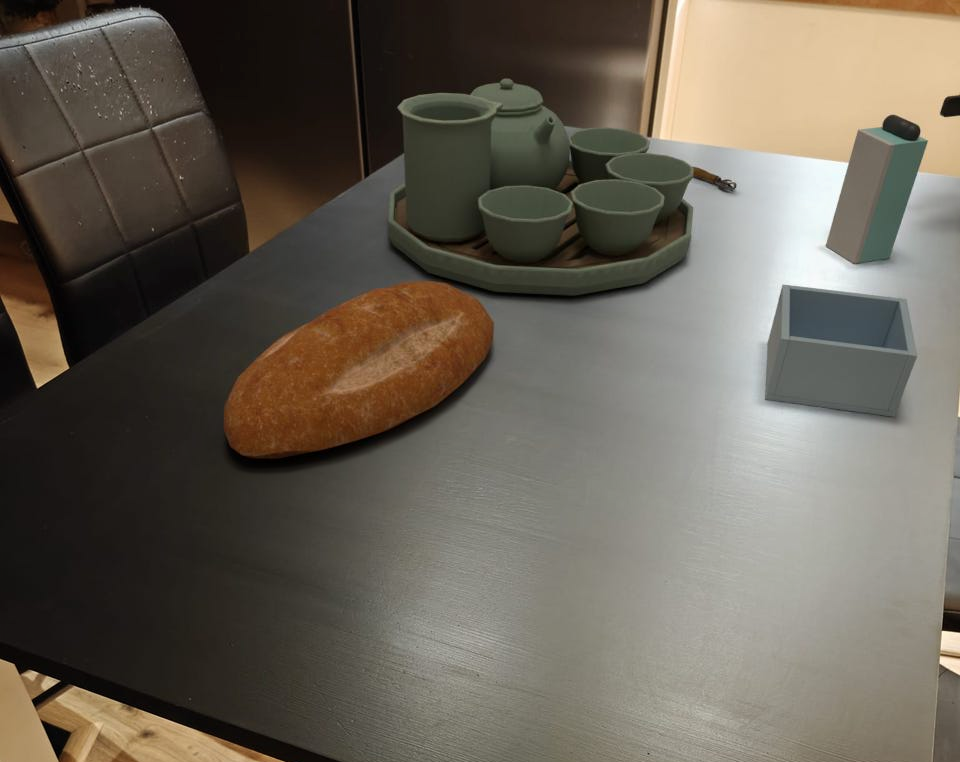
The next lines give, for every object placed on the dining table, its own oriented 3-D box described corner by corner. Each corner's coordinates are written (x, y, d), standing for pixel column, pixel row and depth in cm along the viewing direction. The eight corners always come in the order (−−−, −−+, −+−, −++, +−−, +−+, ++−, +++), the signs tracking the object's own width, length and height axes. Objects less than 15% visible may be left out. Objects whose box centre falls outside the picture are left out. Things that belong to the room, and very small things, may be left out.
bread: (540, 350, 101) (545, 269, 95) (305, 501, 81) (293, 410, 74) (416, 303, 108) (414, 225, 102) (173, 431, 88) (151, 343, 82)
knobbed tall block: (860, 240, 124) (899, 110, 113) (889, 258, 120) (933, 125, 109) (825, 246, 123) (861, 114, 112) (853, 264, 119) (894, 130, 108)
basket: (885, 357, 101) (906, 298, 97) (894, 417, 93) (917, 355, 88) (767, 342, 103) (782, 283, 99) (764, 399, 95) (781, 338, 90)
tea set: (609, 331, 104) (628, 174, 93) (326, 248, 119) (312, 104, 107) (736, 219, 129) (764, 84, 117) (488, 162, 143) (491, 37, 132)
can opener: (688, 174, 141) (689, 166, 140) (699, 171, 142) (700, 163, 141) (730, 193, 135) (732, 185, 135) (742, 190, 136) (743, 182, 136)
